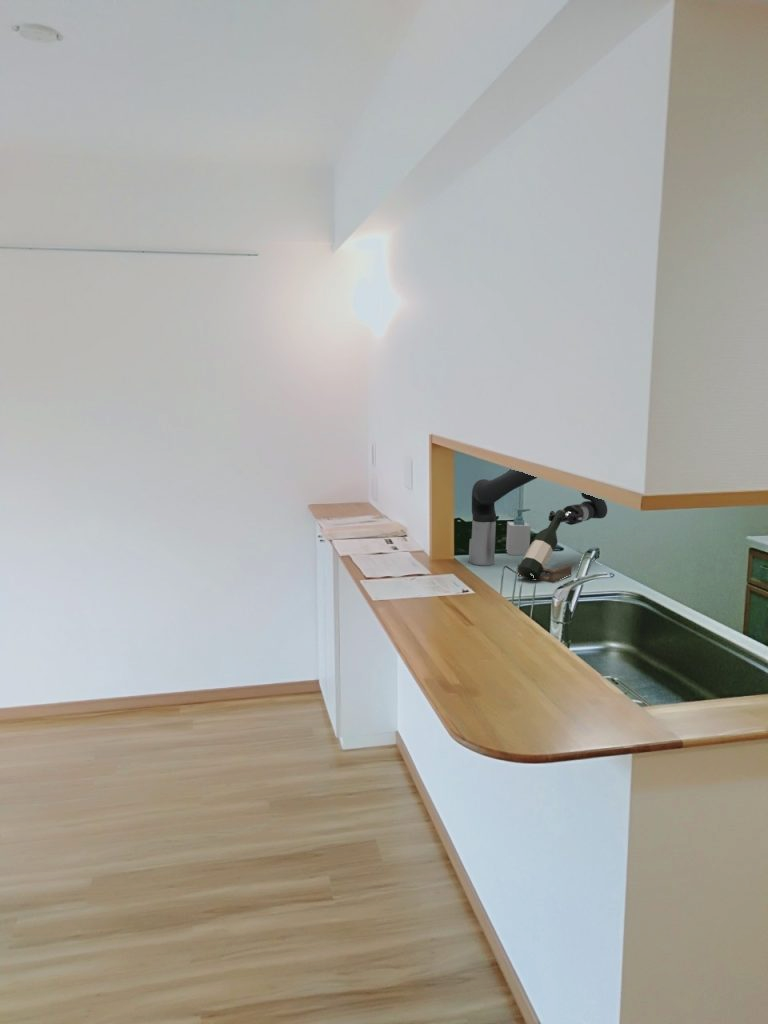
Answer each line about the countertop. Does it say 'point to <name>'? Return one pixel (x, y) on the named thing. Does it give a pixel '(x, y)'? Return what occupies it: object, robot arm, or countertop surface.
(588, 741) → the countertop surface
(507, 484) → the robot arm
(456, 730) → the countertop surface
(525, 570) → the wine bottle
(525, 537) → the soap bottle
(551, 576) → the cradle
